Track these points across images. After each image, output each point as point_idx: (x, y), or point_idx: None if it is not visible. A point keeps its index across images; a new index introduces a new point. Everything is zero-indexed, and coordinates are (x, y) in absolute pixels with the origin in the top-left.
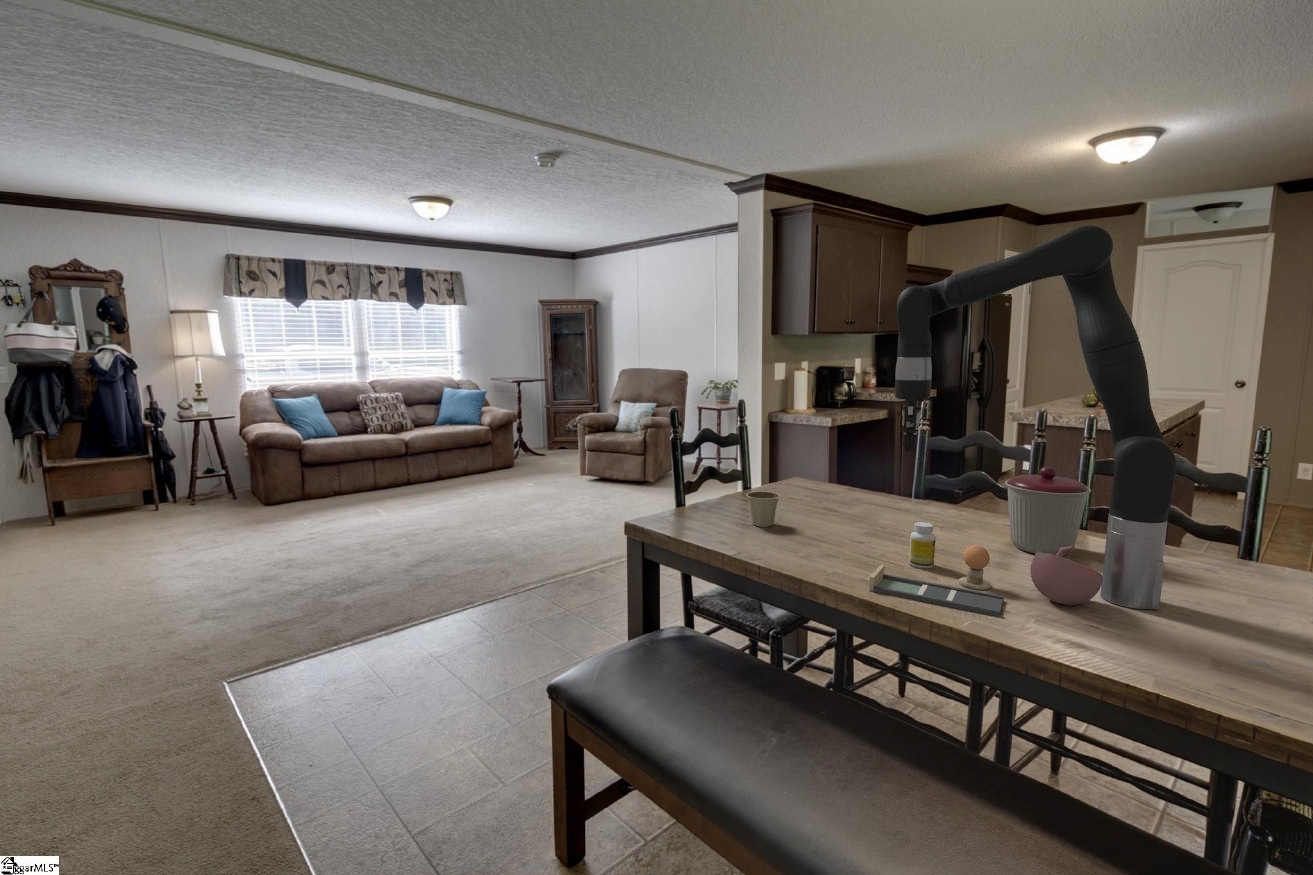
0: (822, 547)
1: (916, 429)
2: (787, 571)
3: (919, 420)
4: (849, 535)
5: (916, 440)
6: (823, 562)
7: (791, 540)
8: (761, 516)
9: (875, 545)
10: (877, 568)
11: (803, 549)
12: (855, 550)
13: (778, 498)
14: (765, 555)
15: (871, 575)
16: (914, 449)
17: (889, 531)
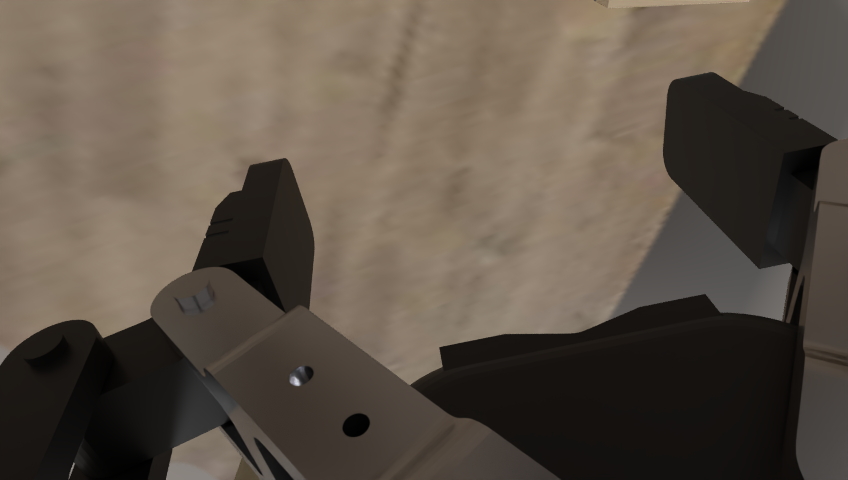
0: (388, 241)
1: (237, 282)
2: (642, 232)
3: (347, 340)
4: (201, 225)
5: (275, 186)
6: (526, 189)
7: (378, 325)
8: None
9: (250, 118)
10: (654, 5)
11: (440, 272)
12: (354, 154)
13: (254, 476)
14: (543, 318)
15: (733, 1)
16: (717, 77)
17: (23, 130)
